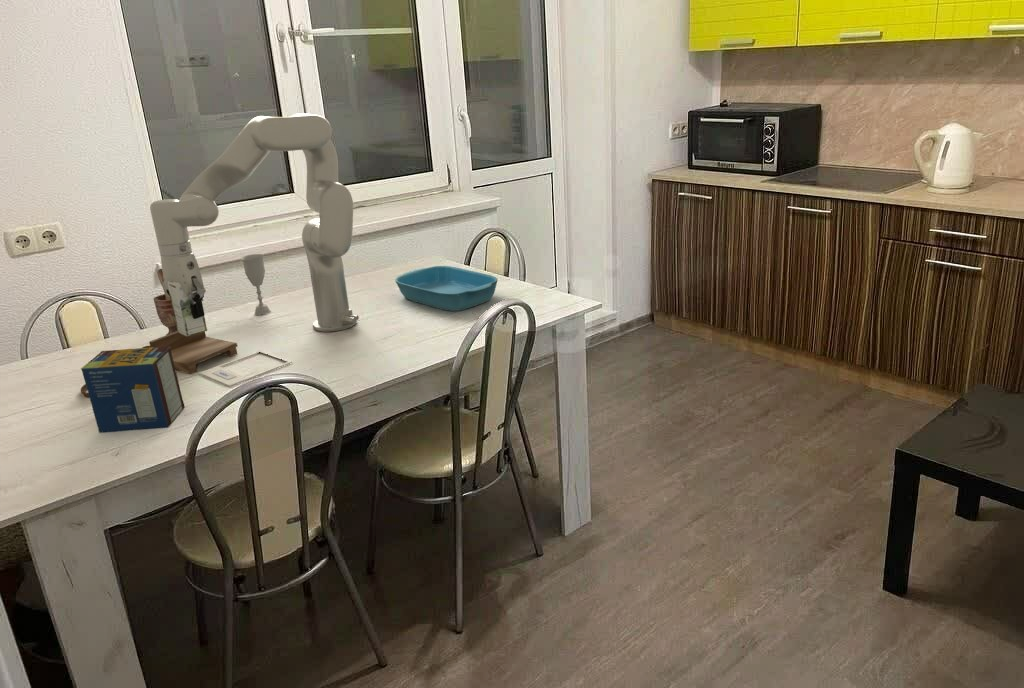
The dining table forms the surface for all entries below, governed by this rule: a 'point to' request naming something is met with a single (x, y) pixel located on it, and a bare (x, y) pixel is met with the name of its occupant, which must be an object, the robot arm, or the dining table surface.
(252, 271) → the chalice
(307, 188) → the robot arm
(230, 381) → the photo frame
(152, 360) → the protein box
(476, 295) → the casserole dish
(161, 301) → the mortar and pestle
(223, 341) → the shelf
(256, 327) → the dining table surface
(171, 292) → the syrup box
